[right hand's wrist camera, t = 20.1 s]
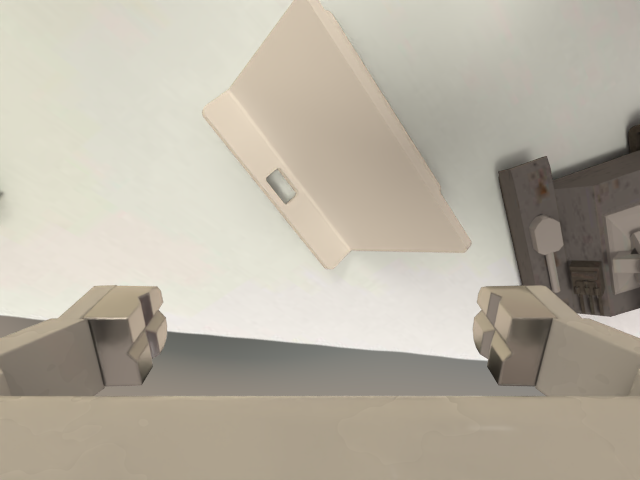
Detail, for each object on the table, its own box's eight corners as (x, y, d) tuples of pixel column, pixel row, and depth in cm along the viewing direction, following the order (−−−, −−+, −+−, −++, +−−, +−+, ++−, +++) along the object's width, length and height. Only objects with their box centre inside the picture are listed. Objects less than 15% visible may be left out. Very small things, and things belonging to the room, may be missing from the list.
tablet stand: (327, 7, 43) (330, -37, 27) (442, 188, 51) (497, 236, 35) (203, 110, 47) (144, 124, 31) (327, 264, 54) (329, 338, 39)
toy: (491, 161, 49) (559, 191, 35) (660, 99, 47) (805, 107, 33) (528, 323, 58) (594, 399, 44) (672, 279, 55) (790, 345, 41)
